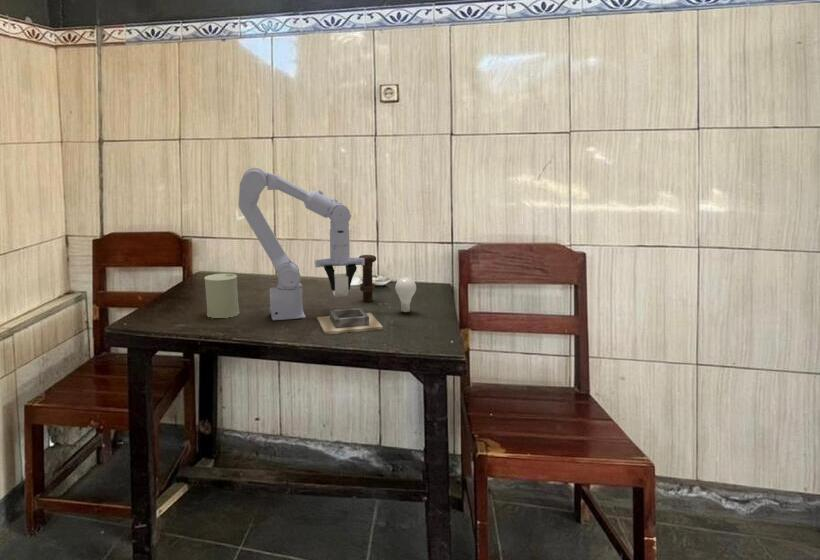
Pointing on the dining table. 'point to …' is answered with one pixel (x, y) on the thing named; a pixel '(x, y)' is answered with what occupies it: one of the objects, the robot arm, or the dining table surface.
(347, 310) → the socket base
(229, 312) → the can
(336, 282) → the peg
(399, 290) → the lightbulb
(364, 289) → the bolt
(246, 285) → the dining table surface
